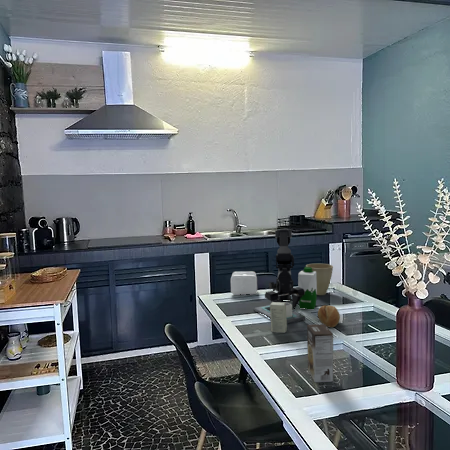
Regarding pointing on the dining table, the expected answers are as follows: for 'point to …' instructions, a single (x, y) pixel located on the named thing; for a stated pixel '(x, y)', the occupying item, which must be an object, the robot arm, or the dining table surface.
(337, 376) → the dining table surface
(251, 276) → the white rounded box
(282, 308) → the skincare box
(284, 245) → the robot arm
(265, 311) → the socket panel
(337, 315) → the bread roll
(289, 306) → the plug
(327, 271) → the plant pot
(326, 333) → the coffee box
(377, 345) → the dining table surface
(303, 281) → the milk carton
